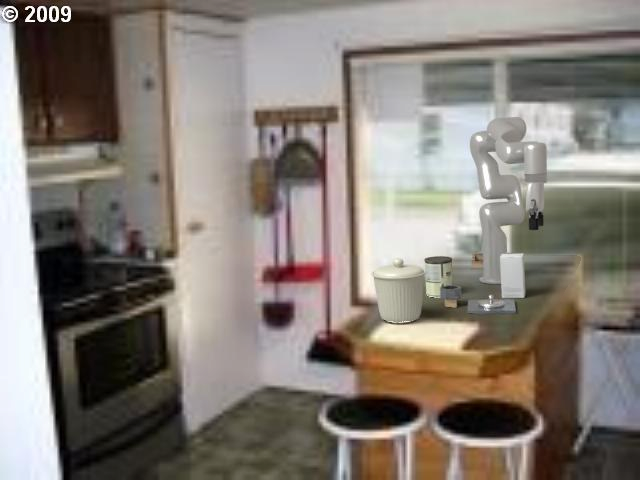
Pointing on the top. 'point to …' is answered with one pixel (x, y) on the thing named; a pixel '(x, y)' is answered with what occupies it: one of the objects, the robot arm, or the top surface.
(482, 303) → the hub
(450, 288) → the plate ring
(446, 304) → the stand
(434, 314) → the top surface
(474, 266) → the dish frame
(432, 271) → the coffee can
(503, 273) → the skincare box
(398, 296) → the canister
